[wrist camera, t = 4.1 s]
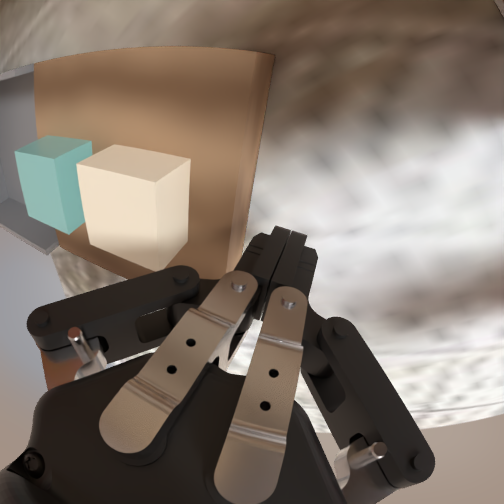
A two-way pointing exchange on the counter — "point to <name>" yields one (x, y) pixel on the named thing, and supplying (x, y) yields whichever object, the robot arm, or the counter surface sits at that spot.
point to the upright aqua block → (53, 180)
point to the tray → (4, 161)
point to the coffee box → (500, 5)
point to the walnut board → (167, 134)
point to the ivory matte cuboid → (136, 203)
